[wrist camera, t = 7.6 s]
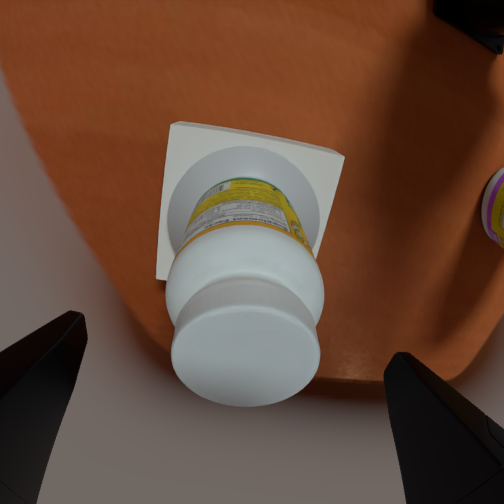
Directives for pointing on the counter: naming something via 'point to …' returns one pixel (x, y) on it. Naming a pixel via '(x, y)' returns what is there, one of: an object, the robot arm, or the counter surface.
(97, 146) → the counter surface
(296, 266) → the supplement bottle
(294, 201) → the scale
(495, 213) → the supplement bottle
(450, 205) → the counter surface
